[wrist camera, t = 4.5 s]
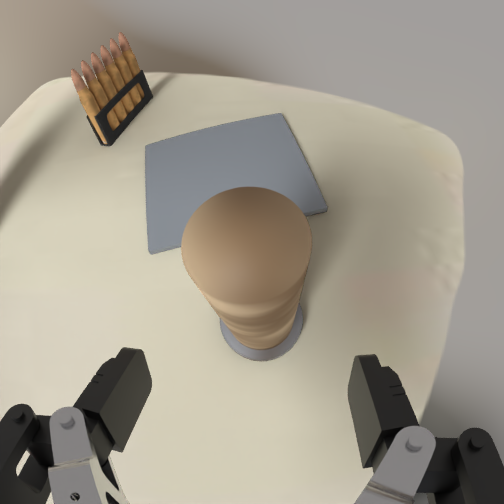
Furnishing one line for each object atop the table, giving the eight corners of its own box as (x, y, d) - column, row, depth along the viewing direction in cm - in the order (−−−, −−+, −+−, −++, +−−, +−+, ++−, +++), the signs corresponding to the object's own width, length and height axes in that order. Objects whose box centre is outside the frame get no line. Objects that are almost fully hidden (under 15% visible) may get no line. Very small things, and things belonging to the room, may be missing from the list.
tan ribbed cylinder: (231, 369, 21) (174, 342, 9) (215, 294, 23) (157, 194, 12) (311, 349, 21) (356, 296, 9) (289, 276, 23) (300, 160, 12)
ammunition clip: (110, 146, 33) (71, 73, 22) (101, 145, 33) (61, 75, 22) (153, 96, 37) (129, 28, 26) (143, 96, 37) (119, 30, 26)
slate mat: (150, 254, 25) (148, 251, 25) (147, 149, 31) (145, 145, 31) (326, 211, 26) (327, 207, 25) (281, 116, 32) (281, 112, 31)
